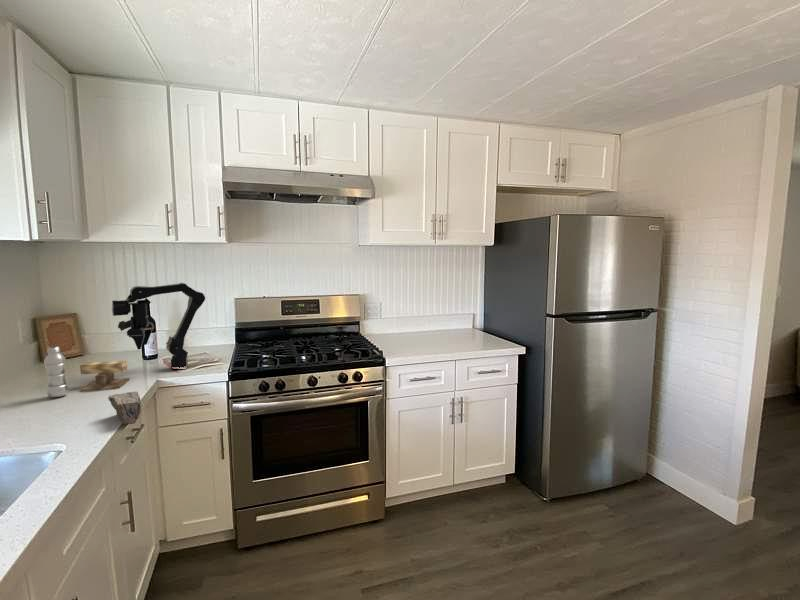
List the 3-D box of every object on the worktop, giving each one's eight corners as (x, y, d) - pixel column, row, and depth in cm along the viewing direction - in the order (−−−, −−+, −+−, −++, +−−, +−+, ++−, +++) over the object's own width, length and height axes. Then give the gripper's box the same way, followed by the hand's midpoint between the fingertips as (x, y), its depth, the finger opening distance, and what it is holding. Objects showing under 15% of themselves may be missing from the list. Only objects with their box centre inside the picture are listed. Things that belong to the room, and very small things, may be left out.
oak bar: (127, 369, 183) (126, 360, 182) (122, 372, 179) (122, 363, 178) (86, 371, 180) (85, 362, 179) (80, 374, 176) (79, 365, 175)
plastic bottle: (47, 396, 167) (41, 347, 165) (68, 392, 172) (63, 344, 169) (47, 400, 162) (41, 350, 160) (69, 396, 167) (64, 347, 164)
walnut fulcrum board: (129, 380, 188) (128, 366, 187) (119, 388, 176) (118, 374, 176) (92, 382, 184) (91, 369, 183) (80, 391, 172) (79, 377, 172)
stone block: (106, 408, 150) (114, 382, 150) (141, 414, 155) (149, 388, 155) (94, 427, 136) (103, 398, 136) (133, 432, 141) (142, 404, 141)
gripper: (126, 311, 200) (129, 343, 201) (111, 317, 182) (115, 353, 184) (152, 310, 203) (155, 342, 205) (141, 316, 185) (143, 351, 187)
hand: (142, 346), depth 195 cm, fingers open, 9 cm apart
